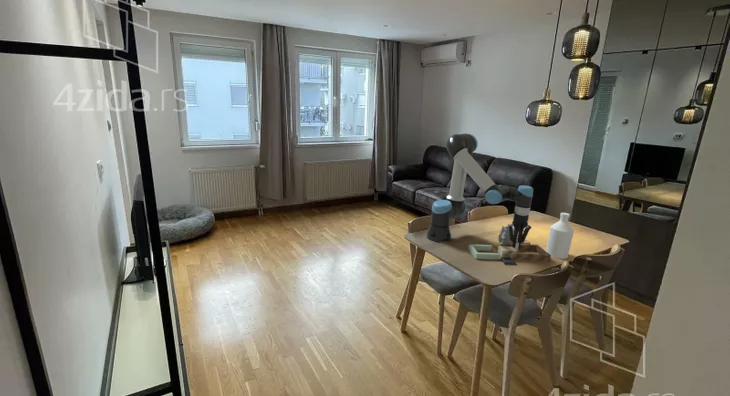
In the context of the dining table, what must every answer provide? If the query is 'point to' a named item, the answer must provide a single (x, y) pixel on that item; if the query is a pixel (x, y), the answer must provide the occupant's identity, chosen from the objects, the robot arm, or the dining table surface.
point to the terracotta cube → (525, 242)
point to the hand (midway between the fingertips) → (514, 252)
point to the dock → (477, 255)
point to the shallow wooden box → (540, 256)
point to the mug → (505, 235)
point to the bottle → (560, 238)
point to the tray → (507, 260)
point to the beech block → (506, 251)
